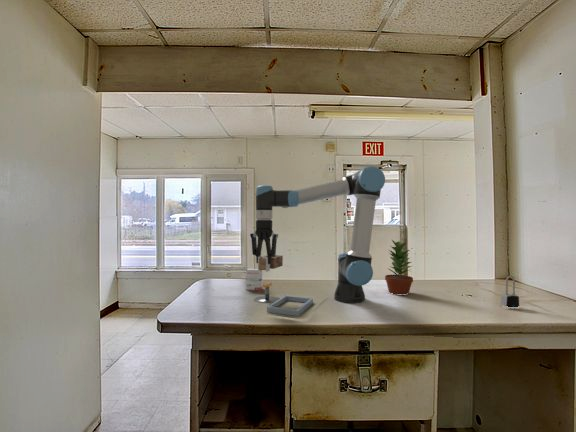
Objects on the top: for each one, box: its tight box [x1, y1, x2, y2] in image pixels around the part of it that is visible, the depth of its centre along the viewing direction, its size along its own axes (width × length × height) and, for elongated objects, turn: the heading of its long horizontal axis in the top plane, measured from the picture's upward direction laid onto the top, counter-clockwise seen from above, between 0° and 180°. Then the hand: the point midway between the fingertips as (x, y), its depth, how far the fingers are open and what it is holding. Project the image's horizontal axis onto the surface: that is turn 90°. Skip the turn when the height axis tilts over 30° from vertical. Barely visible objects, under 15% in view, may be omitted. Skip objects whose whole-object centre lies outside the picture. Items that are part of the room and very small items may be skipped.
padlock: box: [500, 275, 520, 307], centre depth 146 cm, size 7×4×15 cm, turn 93°
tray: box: [266, 295, 314, 319], centre depth 139 cm, size 14×21×3 cm, turn 159°
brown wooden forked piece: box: [259, 254, 284, 271], centre depth 148 cm, size 16×7×5 cm, turn 158°
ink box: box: [245, 268, 263, 291], centre depth 173 cm, size 9×5×12 cm, turn 84°
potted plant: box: [384, 239, 414, 295], centre depth 172 cm, size 15×15×30 cm
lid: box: [253, 281, 281, 304], centre depth 151 cm, size 13×13×9 cm
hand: (263, 270), depth 143 cm, fingers closed on brown wooden forked piece, 3 cm apart
